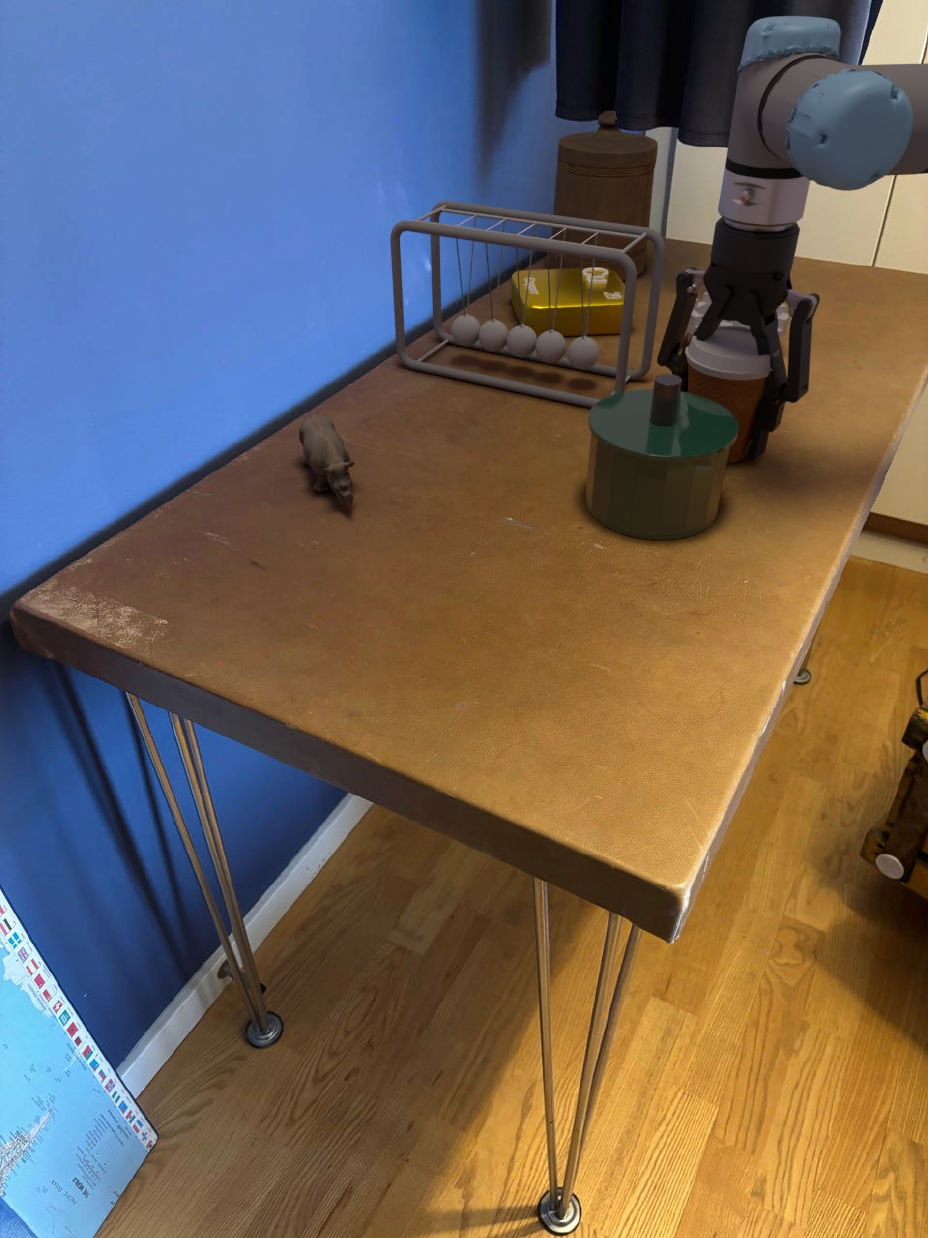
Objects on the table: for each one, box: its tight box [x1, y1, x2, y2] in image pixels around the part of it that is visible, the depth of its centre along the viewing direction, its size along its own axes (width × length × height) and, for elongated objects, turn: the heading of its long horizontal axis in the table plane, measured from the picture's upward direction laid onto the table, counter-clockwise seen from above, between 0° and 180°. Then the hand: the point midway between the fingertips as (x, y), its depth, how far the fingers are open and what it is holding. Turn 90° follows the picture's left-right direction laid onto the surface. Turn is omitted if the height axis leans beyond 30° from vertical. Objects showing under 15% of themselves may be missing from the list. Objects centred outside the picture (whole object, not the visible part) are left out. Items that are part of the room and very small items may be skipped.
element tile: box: [510, 267, 625, 338], centre depth 127 cm, size 15×15×5 cm
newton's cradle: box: [389, 200, 666, 409], centre depth 108 cm, size 30×10×18 cm, turn 62°
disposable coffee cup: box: [685, 325, 780, 464], centre depth 94 cm, size 10×10×12 cm
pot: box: [585, 431, 730, 541], centre depth 87 cm, size 13×13×8 cm
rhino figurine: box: [298, 413, 355, 507], centre depth 90 cm, size 4×14×6 cm, turn 21°
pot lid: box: [587, 373, 739, 461], centre depth 83 cm, size 14×14×5 cm
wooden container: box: [549, 110, 659, 282], centre depth 137 cm, size 15×15×22 cm
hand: (717, 443), depth 97 cm, fingers closed on disposable coffee cup, 8 cm apart
